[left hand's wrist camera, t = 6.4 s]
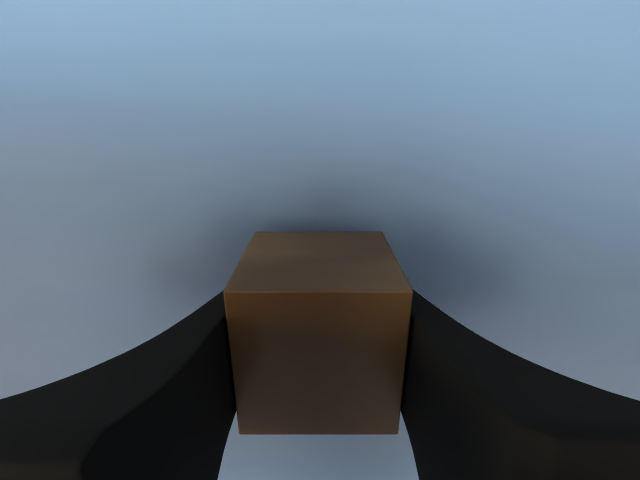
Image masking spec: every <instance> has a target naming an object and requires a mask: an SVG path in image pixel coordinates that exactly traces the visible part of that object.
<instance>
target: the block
mask: <svg viewBox="0 0 640 480" xmlns="http://www.w3.org/2000/svg"><path fill="white" fill-rule="evenodd" d="M223 293H224V302H225V311H226V320H227V329H228V338H229V347H230V356H231V365H232V374H233V384H234V393H235V402H236V411H237V420H238V429H239V434H398V430H399V420H400V411H401V402H402V392H403V383H404V373H405V364H406V354H407V345H408V336H409V326H410V317H411V307H412V298H413V290H412V288H411V286H410V284H409V283H408V281H407V279H406V277H405V275H404V273H403V271H402V269H401V267H400V265H399V263H398V261H397V259H396V257H395V255H394V253H393V252H392V250H391V248H390V246H389V244H388V242H387V240H386V238H385V236H384V234H383V232H255V233H254V235H253V237H252V239H251V241H250V243H249V245H248V246H247V248H246V250H245V252H244V254H243V256H242V258H241V260H240V261H239V263H238V265H237V267H236V269H235V271H234V273H233V274H232V276H231V278H230V280H229V282H228V284H227V286H226V288H225V289H224V292H223Z"/></svg>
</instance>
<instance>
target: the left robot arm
mask: <svg viewBox="0 0 640 480" xmlns="http://www.w3.org/2000/svg"><path fill="white" fill-rule="evenodd" d="M412 290H413V289H412ZM223 292H224V290H223V291H222V292H221V293H219V294H218V295H217V296H215V297H214V298H212V299H211V300H210V301H208V302H207V303H206V304H204V305H203V306H202V307H200V308H199V309H197V310H196V311H195V312H193V313H192V314H190V315H189V316H187V317H186V318H184V319H183V320H181V321H180V322H178V323H177V324H175V325H173V326H172V327H170V328H169V329H167V330H166V331H164V332H162V333H161V334H159V335H157V336H156V337H154V338H152V339H150V340H148V341H147V342H145V343H143V344H141V345H139V346H137V347H135V348H133V349H131V350H129V351H127V352H125V353H123V354H121V355H119V356H116V357H114V358H112V359H110V360H107V361H105V362H103V363H101V364H99V365H96V366H94V367H92V368H90V369H87V370H85V371H82V372H80V373H77V374H74V375H72V376H69V377H67V378H64V379H61V380H58V381H56V382H53V383H50V384H47V385H44V386H42V387H39V388H36V389H33V390H30V391H27V392H24V393H20V394H17V395H14V396H10V397H7V398H4V399H0V480H217V479H218V474H219V470H220V465H221V461H222V456H223V452H224V448H225V445H226V441H227V438H228V434H229V431H230V428H231V425H232V422H233V419H234V416H235V413H236V402H235V393H234V384H233V374H232V365H231V356H230V347H229V338H228V329H227V320H226V311H225V302H224V293H223ZM401 413H402V416H403V419H404V422H405V425H406V428H407V431H408V434H409V438H410V442H411V445H412V449H413V453H414V458H415V462H416V467H417V472H418V476H419V480H640V401H638V400H635V399H631V398H628V397H625V396H621V395H618V394H615V393H611V392H608V391H605V390H602V389H599V388H597V387H594V386H591V385H588V384H585V383H583V382H580V381H577V380H574V379H571V378H569V377H566V376H564V375H561V374H559V373H556V372H554V371H551V370H549V369H546V368H544V367H542V366H539V365H537V364H535V363H533V362H530V361H528V360H526V359H523V358H521V357H519V356H517V355H515V354H513V353H511V352H509V351H507V350H505V349H503V348H501V347H499V346H497V345H496V344H494V343H492V342H490V341H488V340H486V339H484V338H483V337H481V336H479V335H477V334H476V333H474V332H473V331H471V330H469V329H468V328H466V327H465V326H463V325H462V324H460V323H458V322H457V321H455V320H454V319H452V318H451V317H449V316H448V315H447V314H445V313H444V312H442V311H441V310H440V309H438V308H437V307H436V306H434V305H433V304H431V303H430V302H429V301H427V300H426V299H425V298H423V297H422V296H421V295H420V294H418V293H417V292H416V291H414V290H413V298H412V307H411V317H410V326H409V336H408V345H407V354H406V364H405V373H404V383H403V392H402V402H401Z"/></svg>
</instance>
